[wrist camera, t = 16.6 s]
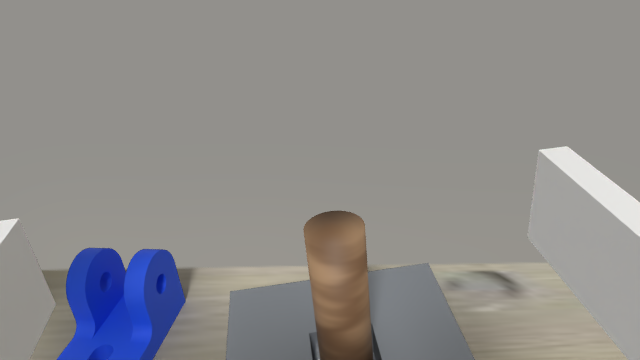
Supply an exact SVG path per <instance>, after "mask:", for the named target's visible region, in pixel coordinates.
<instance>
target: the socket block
mask: <svg viewBox="0 0 640 360" xmlns="http://www.w3.org/2000/svg"><path fill="white" fill-rule="evenodd" d="M368 285H369V301H370V318H371V334H372V350H373V360H475V359H474V357H473V355H472V353H471V351H470V349H469V347H468V344H467V342H466V340H465V338H464V336H463V334H462V332H461V330H460V328H459V326H458V324H457V322H456V320H455V318H454V316H453V313H452V311H451V309H450V307H449V305H448V303H447V301H446V299H445V297H444V295H443V293H442V291H441V289H440V287H439V285H438V283H437V280H436V278H435V276H434V274H433V272H432V270H431V268H430V266H429V264H428V263H425V264H418V265H411V266H404V267H397V268H390V269H383V270H376V271H369V272H368ZM226 360H320V354H319V346H318V339H317V331H316V323H315V315H314V307H313V300H312V292H311V284H310V280H307V281H300V282H293V283H286V284H279V285H272V286H265V287H258V288H251V289H244V290H237V291H230V305H229V320H228V335H227V351H226Z"/></svg>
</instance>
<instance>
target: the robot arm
mask: <svg viewBox="0 0 640 360" xmlns="http://www.w3.org/2000/svg"><path fill="white" fill-rule="evenodd" d="M528 239H529V240H530V241H531V242H532V244H533V245H534V246H535V247H536V248H537V250H538V251H539V252H540V253H541V255H543V257H544V258H545V259H546V261H547V262H548V263H549V264H550V265H551V267H552V268H553V269H554V270H555V271H556V273H557V274H558V275H559V276H560V278H561V279H562V280H563V281H564V282H565V284H566V285H567V286H568V287H569V288H570V290H571V291H572V292H573V293H574V294H575V296H576V297H577V298H578V299H579V301H580V302H581V303H582V304H583V305H584V307H585V308H586V309H587V310H588V311H589V313H590V314H591V315H592V316H593V317H594V319H595V320H596V321H597V322H598V324H599V325H600V326H601V327H602V328H603V330H604V331H605V332H606V333H607V334H608V336H609V337H610V338H611V339H612V340H613V342H614V343H615V344H616V345H617V347H618V348H619V349H620V350H621V351H622V353H623V354H624V355H625V356H626V357H627V359H628V360H640V202H638V201H637V200H636V199H635V198H633V197H632V196H631V195H629V194H628V193H627V192H625V191H624V190H623V189H621V188H620V187H619V186H618V185H616V184H615V183H614V182H612V181H611V180H610V179H609V178H607V177H606V176H605V175H603V174H602V173H601V172H599V171H598V170H597V169H595V168H594V167H593V166H592V165H590V164H589V163H588V162H587V161H585V160H584V159H583V158H581V157H580V156H579V155H577V154H576V153H575V152H573V151H572V150H571V149H570V148H568V147H567V146H566V147H558V148H551V149H543V150H539V152H538V159H537V167H536V175H535V183H534V190H533V198H532V206H531V213H530V221H529V229H528ZM55 306H56V303H55V301H54V299H53V296H52V294H51V292H50V289H49V287H48V285H47V282H46V280H45V278H44V275H43V273H42V271H41V268H40V266H39V264H38V261H37V259H36V257H35V254H34V252H33V250H32V247H31V245H30V243H29V240H28V238H27V236H26V233H25V231H24V229H23V226H22V224H21V222H20V220H19V218H18V219H10V220H3V221H0V360H30V358H31V356H32V353H33V351H34V349H35V347H36V345H37V343H38V341H39V339H40V337H41V335H42V333H43V331H44V329H45V326H46V324H47V322H48V320H49V318H50V316H51V314H52V312H53V310H54V308H55Z"/></svg>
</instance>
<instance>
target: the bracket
mask: <svg viewBox="0 0 640 360" xmlns="http://www.w3.org/2000/svg"><path fill="white" fill-rule="evenodd" d="M66 294H67V299H68V302H69V305H70V307H71V310H72V312H73V315H74V317H75V319H76V324H77V327H76V333H75V335H74V337H73V339H72V340H71V342H70V343H69V344H68V345H67V347H66V348H65V349H64V351H63V352H62V353H61V355H60V356H59V357H58V358H57V360H107V359H108V360H153V358H154V356H155V354H156V353H157V351H158V349H159V347H160V345H161V344H162V342H163V340H164V338H165V337H166V335H167V333H168V331H169V329H170V328H171V326H172V324H173V322H174V321H175V319H176V317H177V315H178V314H179V312H180V310H181V308H182V306H183V305H184V303H185V298H184V294H183V290H182V287H181V283H180V279H179V276H178V272H177V269H176V265H175V262H174V259H173V257H172V255H171V254H170V252H168V251H167V250H159V249H157V250H156V249H143V250H140V251H138V252H137V253H136V254H135V255H134V256H133V258H132V259H131V261H130V263H129V266H128V268H127V271H125V268H124V265H123V263H122V260H121V257H120V256H119V254H118V253H117V252H116V251H115V250H113V249H110V248H87V249H84V250H82V251H81V252H80V253H79V254H78V255H77V256H76V257H75V259H74V260H73V262H72V264H71V266H70V268H69V271H68V275H67V281H66Z"/></svg>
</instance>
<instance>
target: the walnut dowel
mask: <svg viewBox="0 0 640 360" xmlns="http://www.w3.org/2000/svg"><path fill="white" fill-rule="evenodd" d="M304 237H305V245H306V252H307V261H308V268H309V276H310V284H311V292H312V300H313V307H314V315H315V323H316V331H317V339H318V346H319V354H320V360H373V350H372V334H371V318H370V301H369V285H368V269H367V253H366V236H365V224H364V221H363V220H362V218H360V217H359V216H357V215H356V214H353V213H351V212H346V211H330V212H324V213H321V214H318V215H316V216H314V217H312V218H311V219H310V220H309V221H308V222H307V223H306V224H305V226H304Z"/></svg>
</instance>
